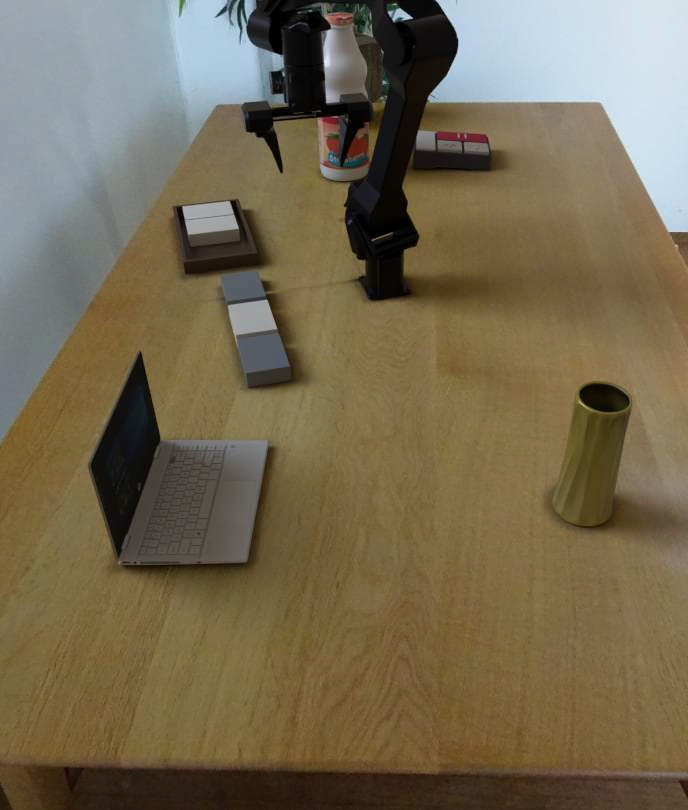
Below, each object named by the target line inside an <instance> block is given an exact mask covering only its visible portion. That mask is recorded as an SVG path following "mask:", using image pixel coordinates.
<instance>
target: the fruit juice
mask: <svg viewBox="0 0 688 810" xmlns="http://www.w3.org/2000/svg"><path fill="white" fill-rule="evenodd" d="M344 12H345V11H342V12H341V11H340V12H339V11H338V12H337V11H336V12H333V13H331V12H330V13H327V14H326V15H325V19H326V20H327V21H328V22H329V24H330V25H331V29H330V30H327V32H326V33H327V35H326V39H325V43H324V47H323V50H324V68H325V86H326V103H335V102H339V98H340V95H341V94H353V93H363V94H364V95H365V96H366V97H367V98H368V96H367V92H366V89H365V80H366V76H367V65H366V61H365V59H364V58H363V56H362V54H361V52H360V50H359V47H358V44H357V42H356V39H355V35H354V32H353V28H352V27H353V26H354V25H355V16H353V14H352V13H349V12H346V13H344ZM369 123H370V122H366V123H365V128H362V129H359V130H358V132H357V134H356V136H355V138H354V140H353V142H352V144H351V146H350V148H349V151H348V154H347V157H346V160H345V162H344V165H343V167H340V166H339V159H338V148H339V118H338V116H333V117H322V118H317V130H318V133H317V134H318V150H319V168H320V172H321V175H322V177H324V178H326V179H328V180H330V181H331V180H332V181H336V182H354V181H359V180H362V179H364V178H366V177H367V176H368V172H369V168H370V135H369V134H370V132H369V131H370V127H369V126H370V125H369Z"/></svg>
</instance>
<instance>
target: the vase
mask: <svg viewBox="0 0 688 810" xmlns="http://www.w3.org/2000/svg"><path fill="white" fill-rule="evenodd" d="M572 405H573V406H572V411H571V417H570V424H569V428H568V434H567V439H566V446H565V450H564V454H563V459H562V462H561V467H560V470H559V474H558V479H557V482H556V486H555V490H554V493H553V494H552V495H553V496H552V507H553V509H554V511H555V512H556V513H557V515H559V516H560V517H561V518H562V519H563V520H564V521H566V522H568V523H570V524H572V525H575V526H579V527H595V526H600V525H602V524H604V523H605V522H607V521H608V520H609V519H610V517H611V516H612V513H613V504H614V503H613V502H614V498H615V493H616V488H617V484H618V483H617V482H618V476H619V471H620V465H621V460H622V455H623V450H624V445H625V440H626V439H625V438H626V435H627V430H628V427H629V426H628V425H629V422H630V417H631V413H632V409H633V396H632V394H630V392H629V391H628V390H626V389H625V388H624V387H622V386H621V385H619V384H617V383H614V382H611V381H607V380H606V381H605V380H591V381H587V382H584V383H583V384H581V385H580V386H579V387H578V388H577V390H576V392H575V394H574V400H573V404H572Z"/></svg>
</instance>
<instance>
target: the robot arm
mask: <svg viewBox="0 0 688 810" xmlns="http://www.w3.org/2000/svg"><path fill="white" fill-rule="evenodd" d="M333 3H338V4H341V5H342V4H344V5H347V4H348V5H355V4H358V5H366V7H367V9H368V11H369V12H370V23H371V35H372V37H374V38H375V40H376V41H377V43H378V45H379V46H380V48H381V50H382V66H383V72H384V74H385V77H386V80H387V82H388V91H387V95H386V99H385V103H384V106H383V112H382V115H381V119H380V123H379V128H378V132H377V135H376V140H375V144H374V148H373V152H372V156H371V160H370V163H369V171H368V174H367V175H366V177H365V178H361V179H358V180H355V181H352V182H350V184H349V185H348V188H347V195H346V200H345V202H344V203H343V207H344V208H345V211H344V224H345V229H346V233H347V237H348V242H349V246H350V249H351V253H353V254H355V256H356V259H357V260H358V261H364V275H359V276H358V282H359V284H360V286H361V288H362V290H363V292H364V293H365V295H366V297H367V299H368V300H378V299H385V298H391V297H399V296H405V295H411V294H412V289H411V287H410V286H409V284H408V282H407V280H406V279H405V251H406V250H408V249H409V250H410V249H411V248H416V247H417V246H418V243H419V239H420V234H419V232H418V229H416V226H415V224H414V222H413V220H412V218H411V216H410V214H409V212H408V206H409V200H408V198H407V196H406V193H405V191H404V188H403V185H404V182H405V178H406V175H407V171H408V168H409V165H410V161H411V157H412V155H413V148H414V144H415V141H416V137H417V134H418V131H420V127H421V123H422V120H423V116H424V113H425V109H426V106H427V102H428V99H429V97H430V95H431V94H432V93H433V92H434V91H435V89H436V88H437V87H438V86H440V84H441V83H442V82H443V80H444V79H445V78H446V77H447V76H448V74H449V72H450V70H451V68H452V65H453V63H454V61H455V60H456V57H457V54H458V52H459V51H458V49H459V37H458V33H457V31H456V28H455V27H454V24H452V23H453V22H451V20H450V19H449V18H448V16H447V14H446V12H445V11H444V10H443V8H442V6H441V5H440V3H439V2H438V1H437V0H255V9H254V10H253V11H252V12H251V13H250V15H248V19H247V23H246V26H245V32H246V36H247V38H248V40H249V42H251V44H252V45H253V46H255V47H257V48H259V49H261V50H264V51H267V52H270V53H273V54H276V55H280V56H282V61H283V70H284V73H283V71H282V70H272V71H269V72H268V81H269V89H270V94H271V96H275V95H283V96H282V97H283V102H284V104H286V106H278V107H277V106H276V107H271V105H270V104H269V101H268V100H259V101H247V102H243V103H242V105H241V106H240V113H241V121H242V124H243V127H244V130H245V132H246V133H248V134H249V133H250V134H254V135H255V138H258V139H262V138H263V140H264V141H265V143H266V145H267V147H268V149H269V150H270V151H271V153H272V156H273V158H274V159H273V160H274V162H275V164H276V166H277V169H278V171H279V174H284V165H283V164H284V163H283V159H282V154H281V149H280V145H279V139H278V135H277V131H276V129H275V127H274V123H275V122H285V121H297V120H298V121H299V120H310V119H318V118H322V117H333V116H338V118H339V148H338V159H339V166H340V167H343V165H344V162H345V160H346V157H347V154H348V151H349V148H350V146H351V144H352V142H353V140H354V138H355V136H356V134H357V132H358V130H359V129H362V128H365V123H366V122H369V123H372V122H374V119H375V118H374V117H375V116H374V106H373V103H371V102H370V101H369V100H368V98H367V97H366V96H365V95H364V94H363V93H353V94H341V95H340V98H339V102H335V103H326V86H325V68H324V50H323V34H324V33H323V32H326V31H328V30H330V29H331V25H330V24H329V22H328V21H327V20H326V17H324V16H323V15H322V13H321V11H320V10H314V9H315V8H317V7H322V6H326V5H328V4H333ZM395 4H396V5H397V6H398V8H399V9H400V10H402V12H404V13H405V14H407V15H408V16H409V17H411V18H408V19H402V20H398V21H395V22H394V20H393V19H392V17H391V15H390V14H389V12H388V6H389V5H395ZM306 11H308V12H306ZM283 74H284V75H283Z"/></svg>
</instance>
